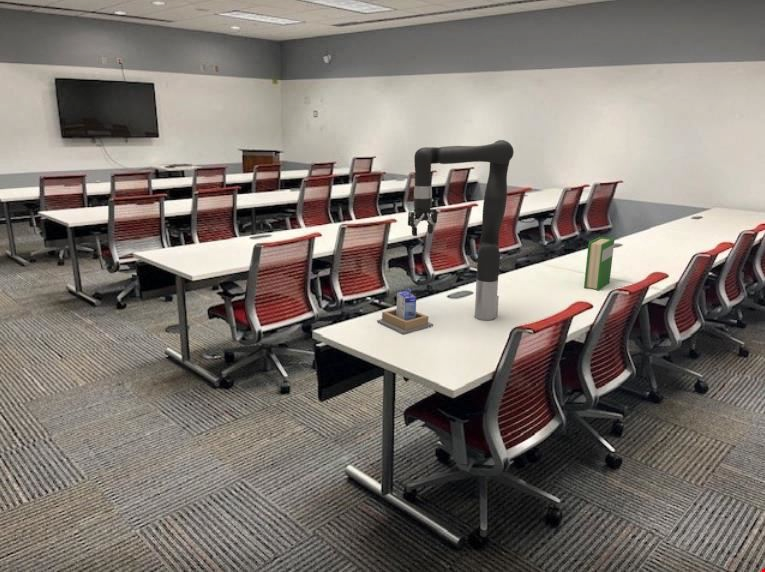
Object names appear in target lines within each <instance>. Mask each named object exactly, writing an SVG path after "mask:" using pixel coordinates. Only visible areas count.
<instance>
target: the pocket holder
mask: <svg viewBox="0 0 765 572" xmlns="http://www.w3.org/2000/svg"><path fill="white" fill-rule="evenodd" d="M396 309H397V308H394V309H390V310H389V309H388V310H386V311H382V313H381V318H380V319H377V321H376V323H377V322H378V323H377V324H379V323H380V325H381V326H384V327H385V328H389V329H390V330H392V331H394V330H395V331H394V332H397V333H398V334H401V335H408V334H411V333H415V332H419V331H422V330H425V328H426V329H428V327H429V328H432V327H431V326H433V327H434V323H431V322H429V316H428V315H426V314H424V313H421V312H419V311H416V318H415V319H411V320H407V321H406V320H404V319H401V318H399V317H397V316H396ZM414 331H415V332H414Z"/></svg>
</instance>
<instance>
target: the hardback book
mask: <svg viewBox="0 0 765 572" xmlns="http://www.w3.org/2000/svg"><path fill="white" fill-rule="evenodd" d="M615 240H616V239H615V238H613V237H606V236H599V237H596V238H595V239H592V240H591V241H589V242H588V244H587V245H588V246H587V254H586V265H585V275H584V284H583V289H587V288H589V289H595V290H596V291H597V292H599V291H600V290H602V289H603V288H605V287H606V286H608V285H609V284H610V282H611V272H612V266H613V256H614V248H615V247H614V246H615Z"/></svg>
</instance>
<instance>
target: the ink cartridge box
mask: <svg viewBox="0 0 765 572" xmlns="http://www.w3.org/2000/svg"><path fill="white" fill-rule="evenodd" d="M411 292H412V289H411V288H410V287H407V289H406V290H405V291H398V292H396V293H397V294H396V308H395V309H396V316H397V317H399V318H401V319H404V320H406V321H407V320H411V319H415V318H416V312H417V296H415V295H414V294H412V293H411Z"/></svg>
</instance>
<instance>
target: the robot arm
mask: <svg viewBox="0 0 765 572" xmlns="http://www.w3.org/2000/svg"><path fill="white" fill-rule="evenodd" d="M513 157H514V147H513V146H512V144H511V143H510V142H508V141H507V140H505V139H498V140H496V141H495V142H493V143H490V144H485V145H451V146H450V145H448V146H441V147H440V146H439V147H436V146H435V147H434V146H433V147H431V146H430V147H420V148H418V149H417V150H416V151H415V154H414V189H413V208H414V211H408V213H407V214H408V215H407V216H408V217H407V226H408V227H410V228H411V235H412V236H413V237H418V225H419V224H420V223H421V222H424V221H425V222H427V234H432V233H433V231H434V228H433V227H434V224H437V222H438V219H437V218H438V217H437V216H438V215H437V213H438V211H437V209H435V208H432V207H433V200H432V199H433V196H432V195H433V190H432V183H433V182H432V179H433V178H432V164H433V165H435V164H437V165H438V164H440V165H453V164H462V163H463V164H464V163H474V162H475V163H479V162H480V163H483V162H484V163H489V171H488V178H487V181H486V182H487V183H486V185H485V189H484V197H483V206H482V221H481V222H482V223H481V226H482V227H481V228H482V229H481V235H480V239H479V243H478V247H477V267H476V277H475V278H476V282H475V298H474V299H475V302H474V303H475V304H474V318H476V319H478V320H482V321H491V320H492V321H493V320H495V319H496V318H497V317H498V312H499V297H500V296H499V295H498V286H499V275H500V264H501V263H500V262H501V252H500V246H499V241H500V231H501V230H500V229H501V226H502V223H503V220H504V217H505V212H506V206H507V200H508V199H507V196H508V182H507V181H508V179H507V178H508V171H509V166H510V161H512V158H513Z"/></svg>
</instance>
